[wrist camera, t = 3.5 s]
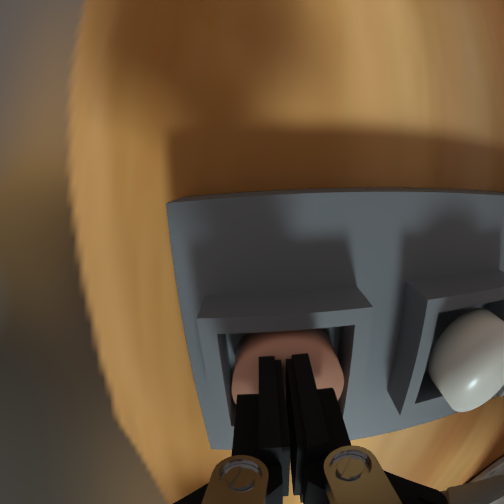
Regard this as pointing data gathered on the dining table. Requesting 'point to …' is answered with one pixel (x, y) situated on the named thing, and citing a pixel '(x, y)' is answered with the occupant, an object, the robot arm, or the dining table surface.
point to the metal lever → (501, 391)
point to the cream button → (469, 359)
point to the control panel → (336, 288)
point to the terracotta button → (283, 348)
